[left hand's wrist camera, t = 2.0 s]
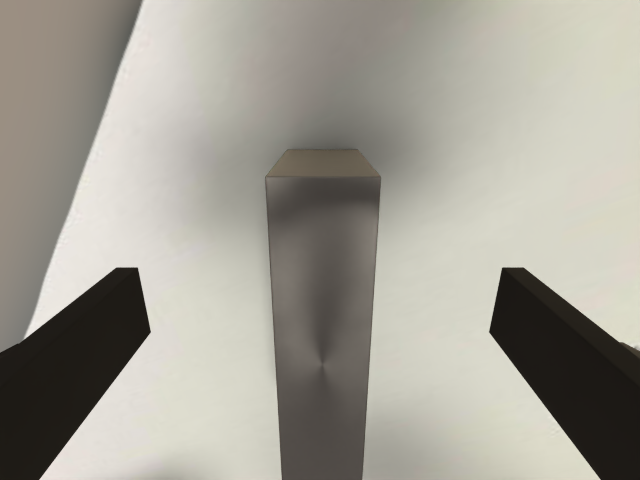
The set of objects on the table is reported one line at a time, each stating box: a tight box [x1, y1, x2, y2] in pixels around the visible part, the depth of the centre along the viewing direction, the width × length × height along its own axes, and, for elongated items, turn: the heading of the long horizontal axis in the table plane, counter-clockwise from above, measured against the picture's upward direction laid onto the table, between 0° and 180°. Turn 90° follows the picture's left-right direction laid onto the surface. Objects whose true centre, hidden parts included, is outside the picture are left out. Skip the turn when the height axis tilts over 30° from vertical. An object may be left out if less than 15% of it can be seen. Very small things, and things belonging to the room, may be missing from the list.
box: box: [265, 150, 381, 480], centre depth 28 cm, size 24×6×12 cm, turn 0°
